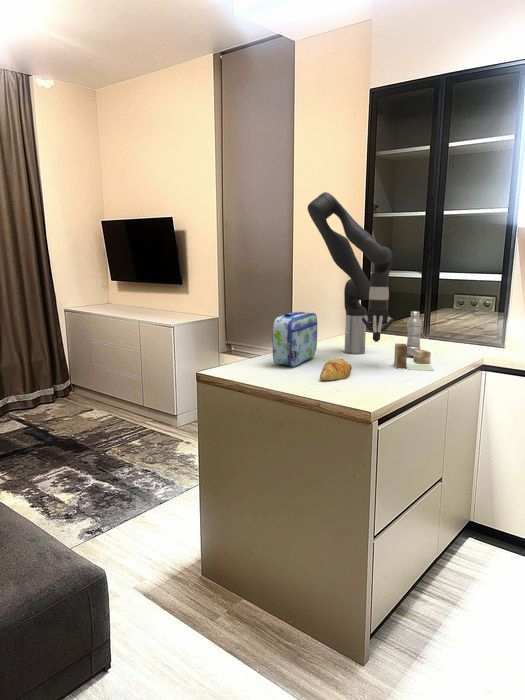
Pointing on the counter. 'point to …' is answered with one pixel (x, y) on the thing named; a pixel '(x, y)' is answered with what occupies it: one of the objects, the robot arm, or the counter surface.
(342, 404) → the counter surface
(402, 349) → the walnut block
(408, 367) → the pad
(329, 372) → the croissant
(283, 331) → the lunch box
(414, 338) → the plastic bottle
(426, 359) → the oak block
